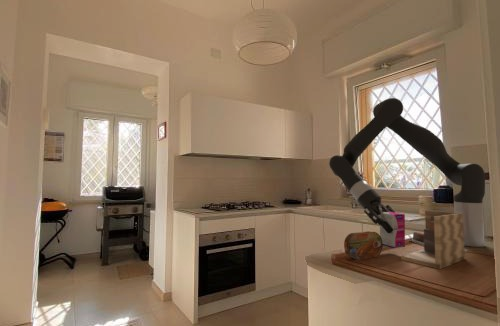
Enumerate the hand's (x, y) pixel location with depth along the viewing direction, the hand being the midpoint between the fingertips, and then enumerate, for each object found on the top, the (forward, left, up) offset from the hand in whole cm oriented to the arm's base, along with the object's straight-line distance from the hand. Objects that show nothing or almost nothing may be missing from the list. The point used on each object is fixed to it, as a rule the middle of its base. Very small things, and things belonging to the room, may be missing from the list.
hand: (396, 230), depth 93 cm
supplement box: (0, -2, -6) cm, 6 cm away
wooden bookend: (-5, +9, -8) cm, 13 cm away
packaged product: (-27, +1, -9) cm, 29 cm away
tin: (+13, -5, -9) cm, 16 cm away
